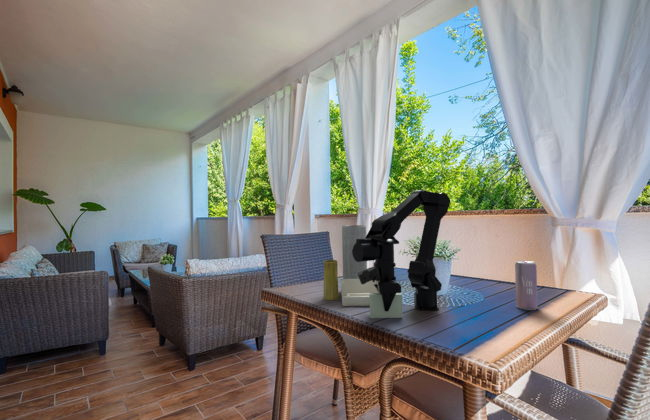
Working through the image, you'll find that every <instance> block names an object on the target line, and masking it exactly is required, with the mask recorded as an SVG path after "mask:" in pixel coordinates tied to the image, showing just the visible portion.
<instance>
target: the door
mask: <svg viewBox="0 0 650 420" xmlns="http://www.w3.org/2000/svg"><path fill="white" fill-rule="evenodd" d="M369 294H370V306H369V317H370V318H371V319H392V318H394V319H396V318H398V319H399V318H401V319H402V318H403V294H402V292H401V293H396V295H395V297H394V299H393V302H392V304H391V306H390V309H389V311H385V310H384V305H383V300H382V295H381V294H380V293H369Z"/></svg>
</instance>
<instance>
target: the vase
mask: <svg viewBox="0 0 650 420" xmlns="http://www.w3.org/2000/svg"><path fill="white" fill-rule="evenodd" d="M338 274H339V273H338V260H336V259H325V260H323V296H322V299H323V300H325V301H337V300H339V298H340V294H339V293H340V292H339V280H338V279H339V278H338Z"/></svg>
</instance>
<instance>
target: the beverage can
mask: <svg viewBox="0 0 650 420" xmlns="http://www.w3.org/2000/svg"><path fill="white" fill-rule="evenodd" d="M514 271H515V272H514V273H515V274H514V275H515V278H514V279H515V282H514V283H515V304H516V307H517V308H518V309H521V310H525V311H535V310H537V308H538V282H537V281H538V279H537V278H538V276H537V274H538V273H537V265H536V261H532V260H531V261H530V260H516V261H515V263H514Z"/></svg>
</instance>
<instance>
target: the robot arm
mask: <svg viewBox="0 0 650 420" xmlns="http://www.w3.org/2000/svg"><path fill="white" fill-rule="evenodd" d="M450 205H451V198H450V196H449V194H447V193H446V192H434V191H428V190H426V189H419V190H413V191H411V193H410V195H408V196H407V197H406V198H405V199H404V200H403V201H401V203H399V204H398V205H397V206H396V207H394V208H393V210H391V211H390V212H388V213H385V214H382V215H380V216H379V217H377V218H375V219H374V220H373V221H372V222H371V227H370V228H369V231H368V232H367V233H366V237H365V239H356V243H355V244H354V246H353V249H352V254H353V258H354V259H355V261H357V262H363V261H367V262H370V261H371V262H372V261H374V262H373V266H371V267H367V269H365V270H362V271H360V272H358V273H357V274H358V277H359V280H360V282H361V284H366V282H369V281H372V282H375V280H376V283H377V284H374V286H375V287H376V288H377V291H378V292H379V293H380V294H381V295H382V300H383V305H384V310H385V311H389V309H390V306H391V304H392V302H393V299H394V297H395V295H396V293H401V294H402V285H401V284H400V283H399V282H398V281H397V276H395V267H396V265H397V263H395V246H394V245H399V244H400V241H399V240H398V239H397V238H396V237H395V235H397V234H398V232H399V230H400V229H401V226H402V223H403V222H404V221H405V219H407V218H408V217H409V216H410V215H411V214H412V213H414V212H415V210H416V209H418V208H419V207H420V206H423V212H424V215H425V220H424V224H423V229H422V230H423V231H422V234H421V238H420V239H421V240H420V244H419V249H418V252H417V253H418V254H417V257H416V258H415V259H414V260H410V262H409V264H408V270H407V272H406V273H407V278H408V279H409V282H410V286H411V288H415V292H414V293H413V298H414V299H413V303H414V304H413V305H414V306H415V307H416V308H417V309H418V310H419V311H430V310H432V311H433V310H435V311H437V310H438V311H439V310H440V307H438V292H439V291H441V290H442V286H443V284H442V283H441V281H440V280H439V279H438V277H436V273H437V271H436V266H435V263H434V255H435V252H436V251H435V250H436V247H437V242H438V241H437V240H438V237H439V236H438V235H439V230H440V226H441V220H442V219H443V217H444V216H445V215H446V214H447V213H448V211H449V208H450Z"/></svg>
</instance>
